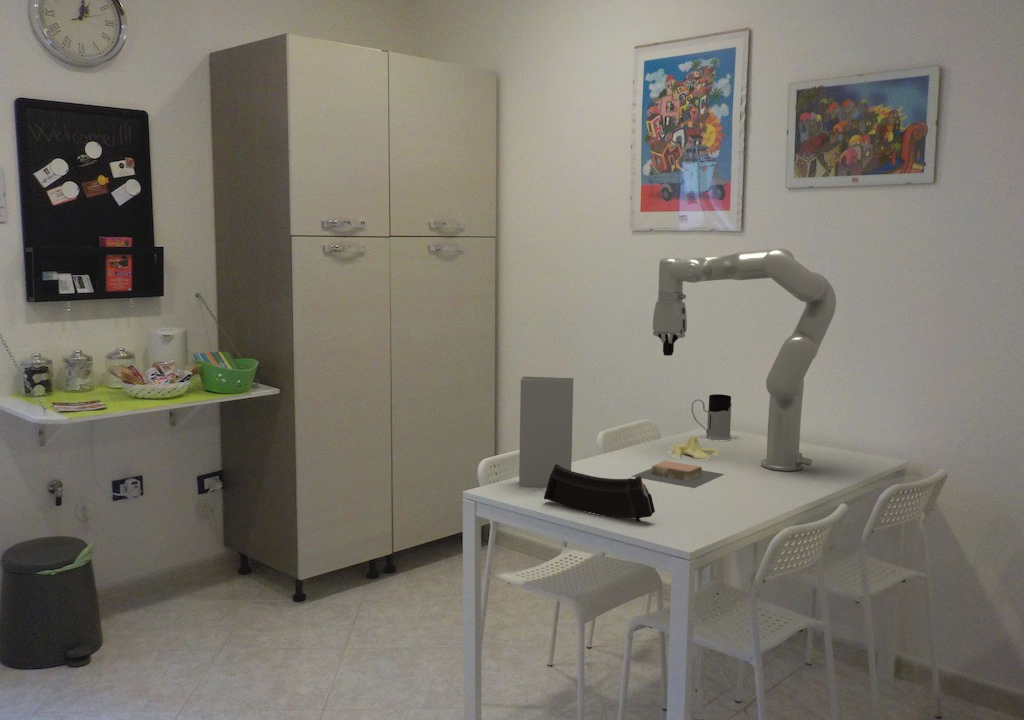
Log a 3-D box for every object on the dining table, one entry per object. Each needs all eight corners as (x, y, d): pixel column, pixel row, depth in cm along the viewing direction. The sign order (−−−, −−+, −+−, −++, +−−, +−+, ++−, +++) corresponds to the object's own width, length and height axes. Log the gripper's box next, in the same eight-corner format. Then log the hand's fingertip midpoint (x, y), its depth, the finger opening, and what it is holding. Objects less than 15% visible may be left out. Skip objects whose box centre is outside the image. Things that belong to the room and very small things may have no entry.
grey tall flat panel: (570, 483, 264) (573, 377, 260) (570, 488, 258) (572, 380, 255) (520, 481, 265) (522, 376, 261) (519, 486, 260) (520, 379, 256)
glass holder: (734, 441, 323) (736, 398, 321) (693, 441, 322) (695, 398, 320) (727, 435, 331) (729, 394, 329) (687, 435, 331) (689, 393, 329)
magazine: (536, 468, 243) (635, 451, 226) (543, 466, 246) (641, 449, 228) (550, 533, 243) (651, 521, 225) (557, 530, 245) (657, 518, 228)
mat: (724, 475, 275) (724, 474, 275) (694, 489, 259) (694, 487, 259) (663, 465, 286) (663, 463, 286) (631, 477, 271) (631, 476, 270)
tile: (664, 469, 280) (701, 475, 272) (651, 474, 273) (689, 480, 266) (664, 460, 279) (701, 466, 272) (651, 465, 273) (689, 471, 266)
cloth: (675, 445, 317) (676, 427, 316) (728, 452, 308) (729, 434, 307) (648, 457, 299) (649, 438, 298) (704, 466, 289) (705, 446, 288)
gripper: (697, 298, 294) (694, 356, 296) (654, 295, 303) (652, 352, 305) (686, 299, 288) (684, 358, 290) (643, 296, 297) (641, 354, 299)
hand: (668, 355), depth 298 cm, fingers closed
